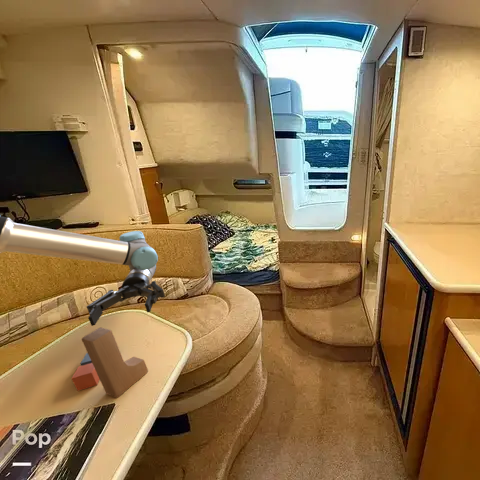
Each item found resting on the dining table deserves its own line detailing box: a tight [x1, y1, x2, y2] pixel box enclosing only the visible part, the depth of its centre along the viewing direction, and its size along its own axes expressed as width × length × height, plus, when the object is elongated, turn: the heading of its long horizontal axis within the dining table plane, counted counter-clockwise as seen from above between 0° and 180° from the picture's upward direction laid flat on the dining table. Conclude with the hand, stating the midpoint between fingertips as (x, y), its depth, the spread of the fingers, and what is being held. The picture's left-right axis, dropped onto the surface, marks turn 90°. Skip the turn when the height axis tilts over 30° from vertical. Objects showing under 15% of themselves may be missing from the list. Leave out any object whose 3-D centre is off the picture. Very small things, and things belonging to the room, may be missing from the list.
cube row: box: [70, 352, 100, 392], centre depth 78 cm, size 15×4×4 cm, turn 22°
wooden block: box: [81, 327, 149, 399], centre depth 70 cm, size 9×4×18 cm, turn 159°
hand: (120, 314), depth 76 cm, fingers open, 13 cm apart
